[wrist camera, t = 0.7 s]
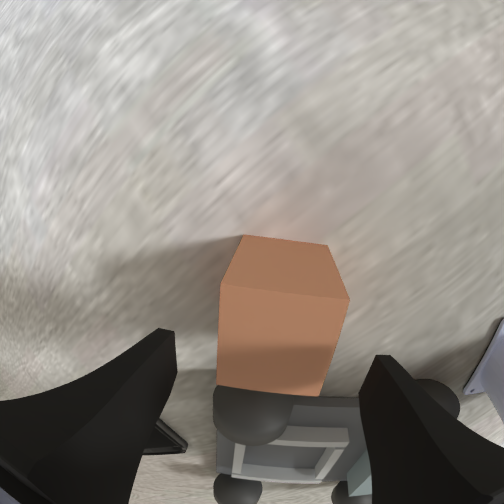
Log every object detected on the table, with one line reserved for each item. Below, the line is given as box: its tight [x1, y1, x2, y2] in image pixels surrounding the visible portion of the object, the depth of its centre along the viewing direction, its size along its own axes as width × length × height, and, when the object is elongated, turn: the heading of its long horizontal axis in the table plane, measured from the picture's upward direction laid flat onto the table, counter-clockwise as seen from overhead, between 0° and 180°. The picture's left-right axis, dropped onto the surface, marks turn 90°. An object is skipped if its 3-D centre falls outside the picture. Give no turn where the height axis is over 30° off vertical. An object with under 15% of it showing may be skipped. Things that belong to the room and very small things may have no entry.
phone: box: [142, 419, 188, 455], centre depth 24 cm, size 8×1×15 cm
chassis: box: [213, 379, 460, 504], centre depth 19 cm, size 18×18×5 cm
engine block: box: [216, 235, 350, 396], centre depth 13 cm, size 4×5×6 cm
